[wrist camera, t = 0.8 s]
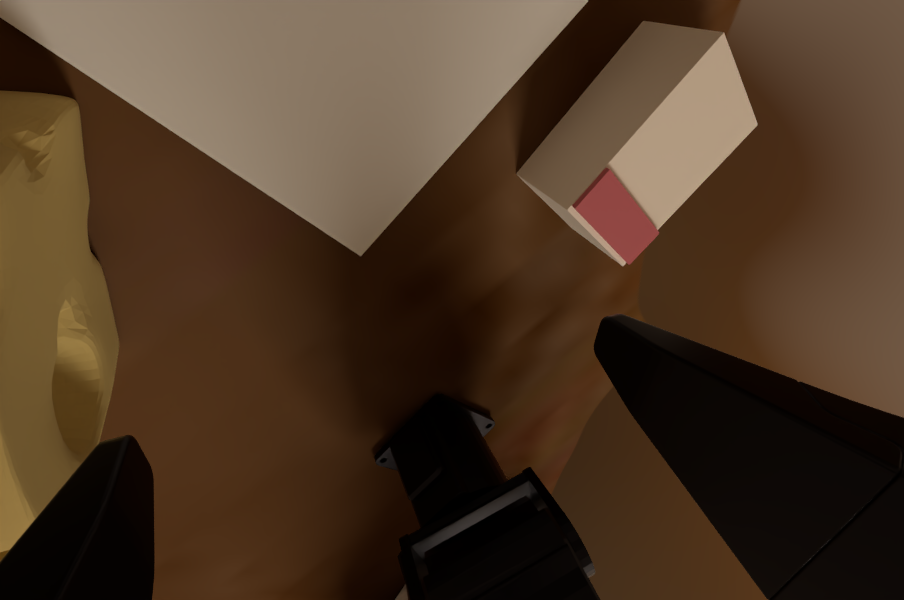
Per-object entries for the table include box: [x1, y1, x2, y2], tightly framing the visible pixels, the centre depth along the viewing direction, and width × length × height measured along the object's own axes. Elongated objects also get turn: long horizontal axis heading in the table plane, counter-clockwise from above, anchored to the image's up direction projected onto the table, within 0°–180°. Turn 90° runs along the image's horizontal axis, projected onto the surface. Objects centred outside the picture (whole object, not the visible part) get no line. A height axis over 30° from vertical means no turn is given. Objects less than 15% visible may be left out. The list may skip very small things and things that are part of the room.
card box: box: [516, 21, 758, 266], centre depth 21 cm, size 8×6×5 cm, turn 135°
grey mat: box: [0, 0, 588, 256], centre depth 15 cm, size 13×14×1 cm
